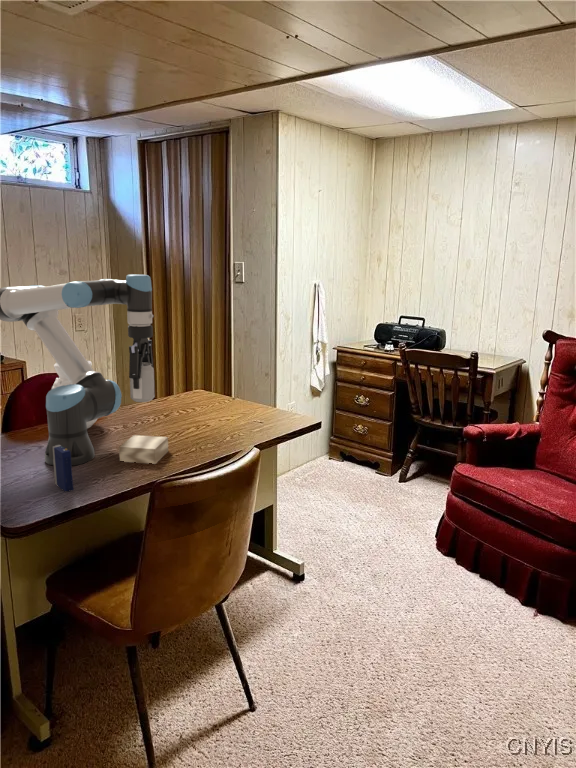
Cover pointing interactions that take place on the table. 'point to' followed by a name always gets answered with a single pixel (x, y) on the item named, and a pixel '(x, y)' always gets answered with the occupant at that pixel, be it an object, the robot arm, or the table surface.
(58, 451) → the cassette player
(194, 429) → the table surface
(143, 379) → the can
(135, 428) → the table surface
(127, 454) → the pedestal
